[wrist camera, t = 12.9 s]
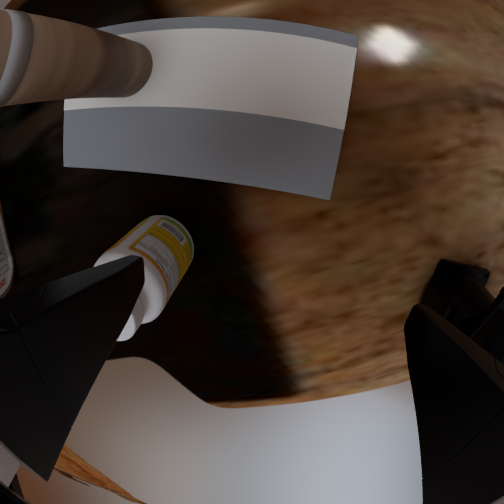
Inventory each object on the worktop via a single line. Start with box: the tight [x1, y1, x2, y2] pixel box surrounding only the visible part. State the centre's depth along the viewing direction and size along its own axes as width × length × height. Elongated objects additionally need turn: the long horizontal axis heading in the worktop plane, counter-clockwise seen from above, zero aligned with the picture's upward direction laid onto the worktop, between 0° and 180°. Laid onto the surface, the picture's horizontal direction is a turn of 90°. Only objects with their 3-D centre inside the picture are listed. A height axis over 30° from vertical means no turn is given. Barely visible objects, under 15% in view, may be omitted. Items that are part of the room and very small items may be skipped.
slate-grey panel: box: [63, 17, 358, 200], centre depth 18 cm, size 22×12×1 cm, turn 83°
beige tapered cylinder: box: [0, 9, 153, 107], centre depth 11 cm, size 5×5×13 cm
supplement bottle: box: [94, 215, 194, 341], centre depth 19 cm, size 5×5×10 cm
